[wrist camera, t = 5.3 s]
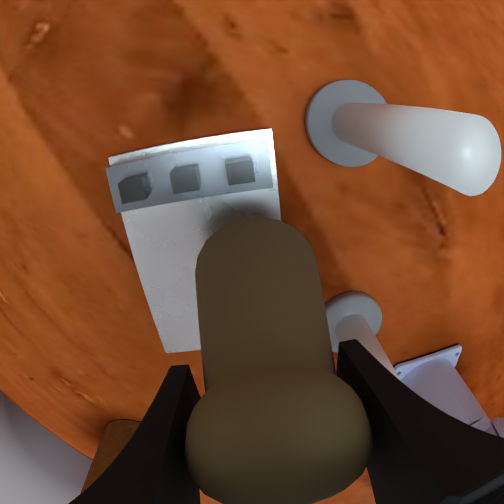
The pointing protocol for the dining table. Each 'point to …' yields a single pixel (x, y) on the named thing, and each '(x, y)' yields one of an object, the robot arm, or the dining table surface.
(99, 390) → the dining table surface
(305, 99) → the dining table surface
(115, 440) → the disposable coffee cup
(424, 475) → the robot arm
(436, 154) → the post
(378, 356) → the post
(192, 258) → the board
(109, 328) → the dining table surface
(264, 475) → the cork
